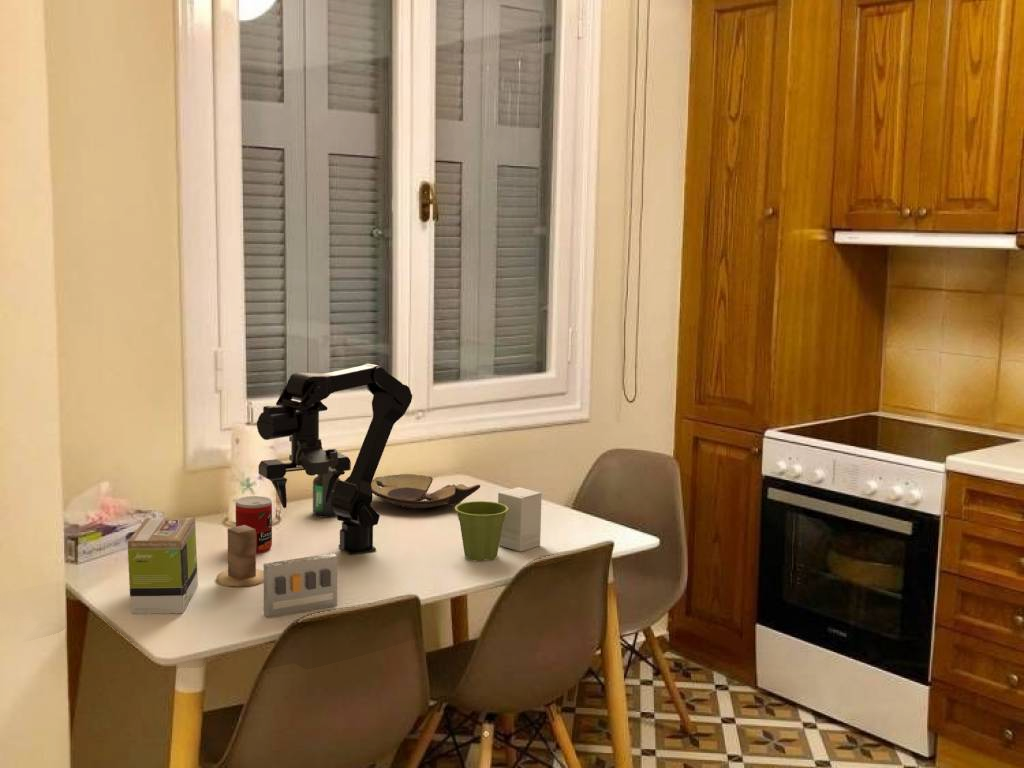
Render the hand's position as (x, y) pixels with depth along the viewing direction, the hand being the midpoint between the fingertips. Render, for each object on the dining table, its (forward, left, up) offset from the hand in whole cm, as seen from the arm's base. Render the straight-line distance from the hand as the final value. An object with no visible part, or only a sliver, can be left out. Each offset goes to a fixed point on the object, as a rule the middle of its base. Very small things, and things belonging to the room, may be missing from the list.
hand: (305, 505), depth 239 cm
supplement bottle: (-19, -33, -13) cm, 40 cm away
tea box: (+32, +8, -13) cm, 36 cm away
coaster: (+15, +3, -13) cm, 20 cm away
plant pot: (-36, +13, -13) cm, 40 cm away
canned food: (+6, -15, -13) cm, 21 cm away
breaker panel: (+11, +25, -13) cm, 30 cm away
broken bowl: (-43, -29, -13) cm, 54 cm away
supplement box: (-48, +10, -13) cm, 51 cm away
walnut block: (+15, +3, -12) cm, 20 cm away
